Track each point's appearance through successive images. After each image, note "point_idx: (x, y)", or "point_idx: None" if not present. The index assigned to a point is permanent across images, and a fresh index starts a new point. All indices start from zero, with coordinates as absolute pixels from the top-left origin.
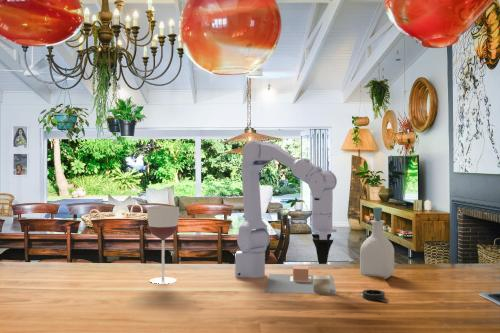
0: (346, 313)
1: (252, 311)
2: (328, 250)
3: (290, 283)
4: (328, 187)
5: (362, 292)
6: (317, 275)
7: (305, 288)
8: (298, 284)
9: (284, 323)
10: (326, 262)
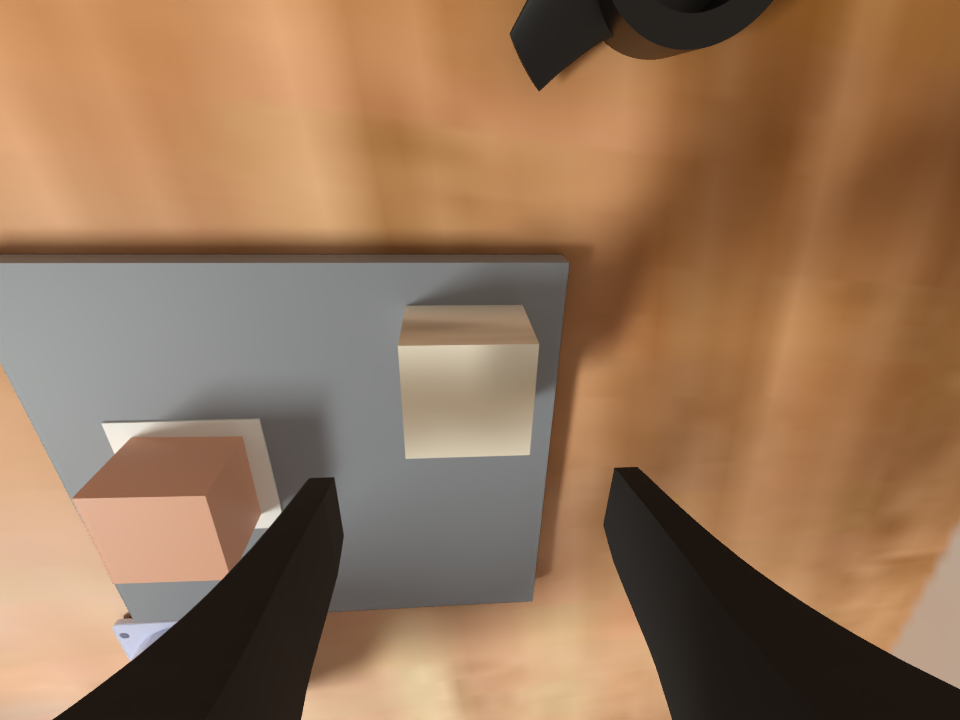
0: (880, 219)
1: None
2: (776, 592)
3: None
4: None
5: (532, 32)
6: (408, 433)
7: None
8: (349, 483)
9: (923, 490)
10: (649, 478)
